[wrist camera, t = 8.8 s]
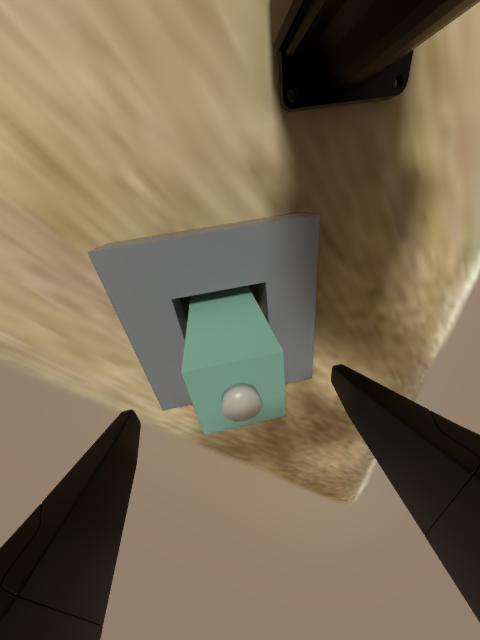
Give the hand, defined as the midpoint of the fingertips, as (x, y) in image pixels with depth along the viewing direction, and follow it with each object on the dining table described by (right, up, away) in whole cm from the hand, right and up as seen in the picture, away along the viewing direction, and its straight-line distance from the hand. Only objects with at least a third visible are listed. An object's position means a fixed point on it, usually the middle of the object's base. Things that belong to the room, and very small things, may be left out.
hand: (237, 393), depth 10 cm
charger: (-1, +4, +7) cm, 8 cm away
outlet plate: (-1, +4, +7) cm, 8 cm away
